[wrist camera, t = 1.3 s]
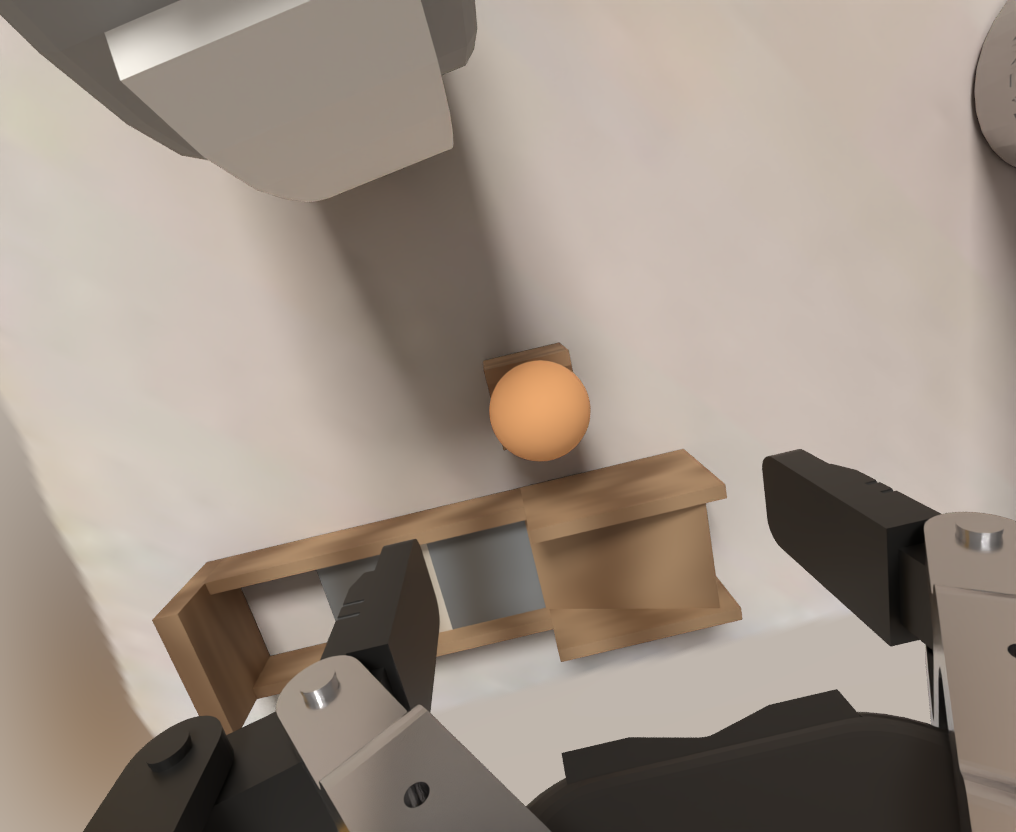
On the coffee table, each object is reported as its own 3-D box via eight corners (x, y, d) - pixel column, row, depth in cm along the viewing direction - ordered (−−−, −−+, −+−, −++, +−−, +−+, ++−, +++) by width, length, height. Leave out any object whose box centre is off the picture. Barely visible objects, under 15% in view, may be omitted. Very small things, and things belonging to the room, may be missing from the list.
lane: (683, 449, 29) (725, 484, 24) (700, 565, 31) (742, 619, 26) (206, 562, 29) (152, 620, 24) (254, 670, 31) (213, 743, 26)
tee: (559, 342, 27) (568, 350, 24) (574, 415, 28) (584, 430, 25) (483, 360, 27) (483, 370, 24) (501, 433, 28) (503, 450, 25)
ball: (570, 343, 24) (589, 358, 20) (587, 431, 26) (609, 462, 21) (478, 365, 24) (478, 384, 20) (500, 452, 26) (504, 487, 21)
